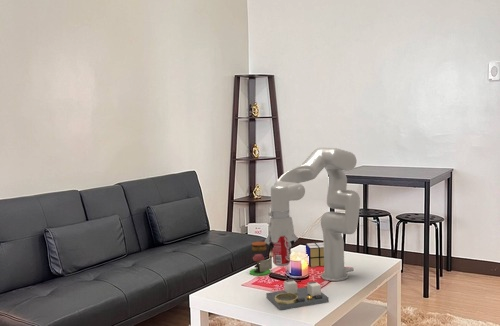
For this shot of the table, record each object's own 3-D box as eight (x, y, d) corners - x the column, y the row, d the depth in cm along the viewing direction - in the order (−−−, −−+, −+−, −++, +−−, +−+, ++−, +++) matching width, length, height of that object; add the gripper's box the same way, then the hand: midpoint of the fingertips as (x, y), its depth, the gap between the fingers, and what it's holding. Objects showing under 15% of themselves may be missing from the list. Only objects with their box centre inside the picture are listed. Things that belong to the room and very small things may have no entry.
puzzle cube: (306, 262, 289) (305, 243, 287) (324, 260, 290) (324, 242, 288) (310, 267, 279) (309, 248, 278) (329, 266, 280) (328, 247, 279)
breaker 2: (315, 291, 237) (315, 280, 236) (321, 295, 232) (320, 284, 232) (307, 292, 236) (307, 282, 235) (312, 296, 231) (312, 285, 230)
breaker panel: (312, 290, 245) (312, 283, 245) (328, 302, 230) (328, 295, 230) (266, 297, 238) (266, 290, 238) (279, 310, 223) (279, 303, 223)
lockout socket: (292, 294, 235) (292, 291, 235) (301, 301, 226) (301, 298, 226) (271, 297, 232) (271, 294, 232) (279, 305, 223) (279, 302, 223)
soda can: (288, 266, 227) (287, 236, 225) (271, 266, 228) (270, 236, 227) (291, 261, 234) (290, 232, 232) (274, 261, 235) (273, 231, 234)
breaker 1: (293, 289, 240) (292, 279, 240) (297, 293, 236) (297, 282, 235) (284, 290, 239) (284, 280, 239) (288, 294, 234) (288, 283, 234)
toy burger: (244, 276, 269) (243, 246, 268) (252, 268, 281) (251, 239, 279) (267, 277, 266) (266, 247, 264) (274, 269, 277) (273, 240, 276)
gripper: (264, 218, 223) (265, 261, 225) (302, 214, 228) (303, 257, 230) (258, 214, 230) (260, 257, 232) (296, 211, 235) (297, 252, 237)
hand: (281, 256), depth 231 cm, fingers closed on soda can, 4 cm apart
